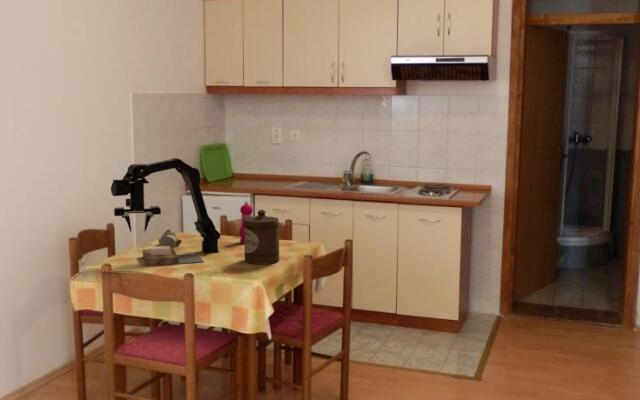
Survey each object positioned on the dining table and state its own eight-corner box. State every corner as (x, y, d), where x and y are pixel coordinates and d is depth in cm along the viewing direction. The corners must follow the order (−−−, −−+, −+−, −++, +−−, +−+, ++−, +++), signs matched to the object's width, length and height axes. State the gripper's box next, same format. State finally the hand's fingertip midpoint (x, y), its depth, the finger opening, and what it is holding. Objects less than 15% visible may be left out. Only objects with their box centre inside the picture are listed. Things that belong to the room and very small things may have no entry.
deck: (173, 255, 324) (173, 248, 324) (178, 264, 307) (178, 257, 307) (143, 256, 320) (142, 250, 319) (146, 266, 303) (146, 258, 303)
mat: (197, 254, 325) (197, 253, 325) (203, 262, 310) (203, 261, 310) (174, 255, 322) (174, 255, 322) (179, 264, 307) (179, 263, 307)
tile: (169, 251, 317) (168, 245, 317) (170, 254, 311) (170, 248, 311) (150, 252, 315) (149, 246, 314) (151, 255, 309) (151, 249, 309)
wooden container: (240, 258, 319) (239, 208, 316) (272, 255, 325) (272, 206, 322) (250, 265, 305) (250, 213, 302) (284, 262, 311) (284, 211, 308)
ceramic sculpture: (154, 231, 331) (160, 227, 346) (154, 250, 332) (160, 245, 347) (177, 231, 332) (182, 227, 347) (177, 250, 333) (182, 246, 348)
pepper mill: (251, 244, 348) (251, 202, 345) (237, 243, 350) (236, 202, 347) (256, 241, 355) (255, 200, 352) (241, 240, 357) (241, 200, 354)
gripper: (157, 191, 317) (158, 227, 319) (112, 192, 311) (113, 228, 314) (160, 194, 307) (161, 231, 309) (114, 196, 301) (115, 233, 303)
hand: (137, 231), depth 309 cm, fingers open, 6 cm apart
